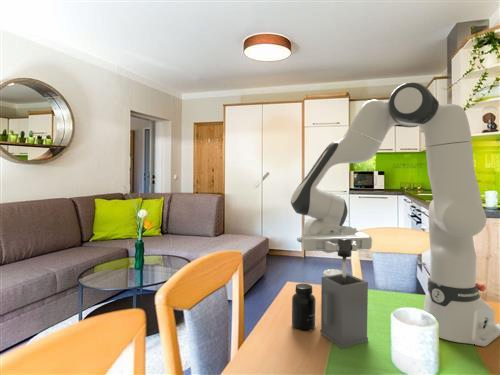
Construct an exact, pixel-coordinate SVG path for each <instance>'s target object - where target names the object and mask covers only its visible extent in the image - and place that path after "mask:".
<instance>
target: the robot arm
mask: <svg viewBox="0 0 500 375" xmlns="http://www.w3.org/2000/svg"><path fill="white" fill-rule="evenodd" d="M469 123H470V122H469V119H468V116H467V113H466V111H465V109H464V108H463V107H462V106H461V105H459V104H454V103H445V104H444V103H443V104H439V100H438V99H437V98H436V97H435V96H434V95H433V94H432V92H431V91H430V90H429V88H427V87H426V86H425V85H423V84H422V83H418V82H414V81H413V82H412V81H411V82H406V83H403V84H400V85H399V86H398V87H395V89H394V90H393V92H391V94H390V97H389V98H388V101H383V100H380V99H370V100H367V101H366V102H364V103H363V104H362V106H361V107H360V108H359V110H358V111H357V113H355V116H354V118H353V119H352V121H351V122H350V125H349V127H348V129H347V130H346V132H345V134H344V135H343V136H342V137H341V138H340V139H338V140H337V141H332V142H331V143H330V144H328V145H327V146H326V148H325V149H324V150H323V151H322V153H321V154H320V156H319V157H318V159H317V160H316V162H315V163H314V164H313V165H312V167H311V169H310V170H309V172H308V173H307V174H306V176H305V178H303V180H302V182H300V184H298V186H297V188H296V189H295V190H294V191H293V194H292V196H291V198H290V204H291V207H292V208H293V210H294V211H295V213H296V214H299V215H303V216H308V217H311V218H309V219H308V220H306V221H305V222H304V226H303V234H301V236H300V237H296V240H297V242H298V243H300V246H301V248H302V250H303V251H306V252H318V251H321V252H323V253H326V254H327V253H328V254H333V253H335V252H338V251H339V245H338V239H339V238H349V239H351V240H352V251H351V252H357V251H358V250H362V251H363V250H365V251H366V250H371V249H372V246H373V238H372V236H371V235H369V234H367V233H366V232H363V231H360V230H357V228H356V227H354V226H345V225H344V224H345V221H346V220H347V216H348V213H349V212H348V206H347V205H348V204H347V203H346V202H347V201H346V200H345V199H344V197H341V196H338V195H336V194H333V193H331V192H327V191H325V190H322V189H319V188H317V187H318V185H319V184H320V183H321V181H322V180H323V178H324V177H325V175H326V174H327V172H328V171H329V170H330V169H331V168H332V167H334V166H336V165H338V164H361V163H365V162H367V161H370V160H371V159H372V158H374V157H375V156H376V154H377V153H378V151H379V149H380V148H381V146H382V143H383V141H384V140H385V138H386V136H387V134H388V133H389V131H390V130H391V129H392V128H393V127H404V128H417V127H419V128H421V129H422V131H423V134H424V135H423V136H424V142H425V143H424V145H425V154H426V165H427V175H428V178H429V183H430V189H431V194H432V195H431V196H432V200H431V201H430V203H429V205H428V234H429V248H430V249H429V252H430V256H429V257H430V258H429V259H430V260H429V261H430V262H429V277H428V279H427V284H426V285H427V293H425V297H424V302H423V303H424V305H423V310H424V311H426V312H428V313H430V314H432V315H433V316H434V317H435V318H436V320H437V321H438V323H439V337H438V338H440V339H443V340H446V341H450V342H455V343H460V344H461V343H463V344H471V345H474V344H475V346H480V347H487V346H488V345H489V344H491V343H492V342H493V341H494V340H496V339H498V337H500V323H499V322H496V321H495V310H494V309H493V307H492V306H491V305H489V304H488V303H487V302H486V301H485V300H483V299H482V298H481V295H480V292H485V290H486V285H485V284H483V283H479V282H476V281H477V261H478V260H477V258H478V257H477V253H476V249H475V248H476V247H475V244H474V237H475V236H477V235H478V234H479V233H481V232H482V231H483V229H485V227H486V223H487V215H486V212H485V209H484V206H483V200H482V195H481V192H480V191H481V190H480V187H479V184H478V180H477V176H476V171H475V161H474V151H473V149H474V148H473V141H472V132H471V126H470V124H469Z"/></svg>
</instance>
